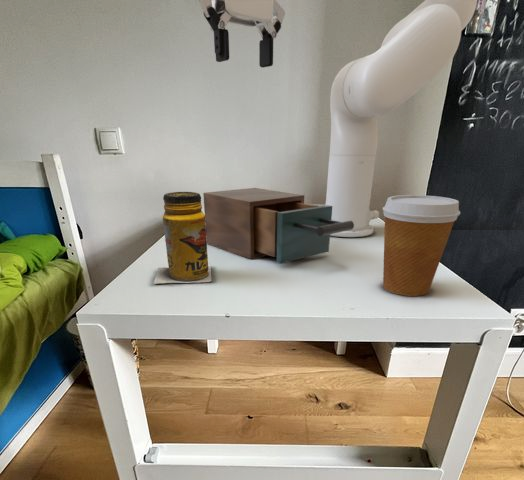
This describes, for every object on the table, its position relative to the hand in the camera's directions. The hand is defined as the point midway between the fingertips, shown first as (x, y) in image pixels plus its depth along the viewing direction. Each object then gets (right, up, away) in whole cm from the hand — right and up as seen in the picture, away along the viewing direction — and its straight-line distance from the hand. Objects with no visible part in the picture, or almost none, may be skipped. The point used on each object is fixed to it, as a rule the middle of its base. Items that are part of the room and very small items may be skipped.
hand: (245, 63), depth 69 cm
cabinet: (+1, -30, +8) cm, 31 cm away
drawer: (+8, -34, 0) cm, 35 cm away
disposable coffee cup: (+24, -42, -13) cm, 50 cm away
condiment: (-9, -40, -9) cm, 42 cm away
